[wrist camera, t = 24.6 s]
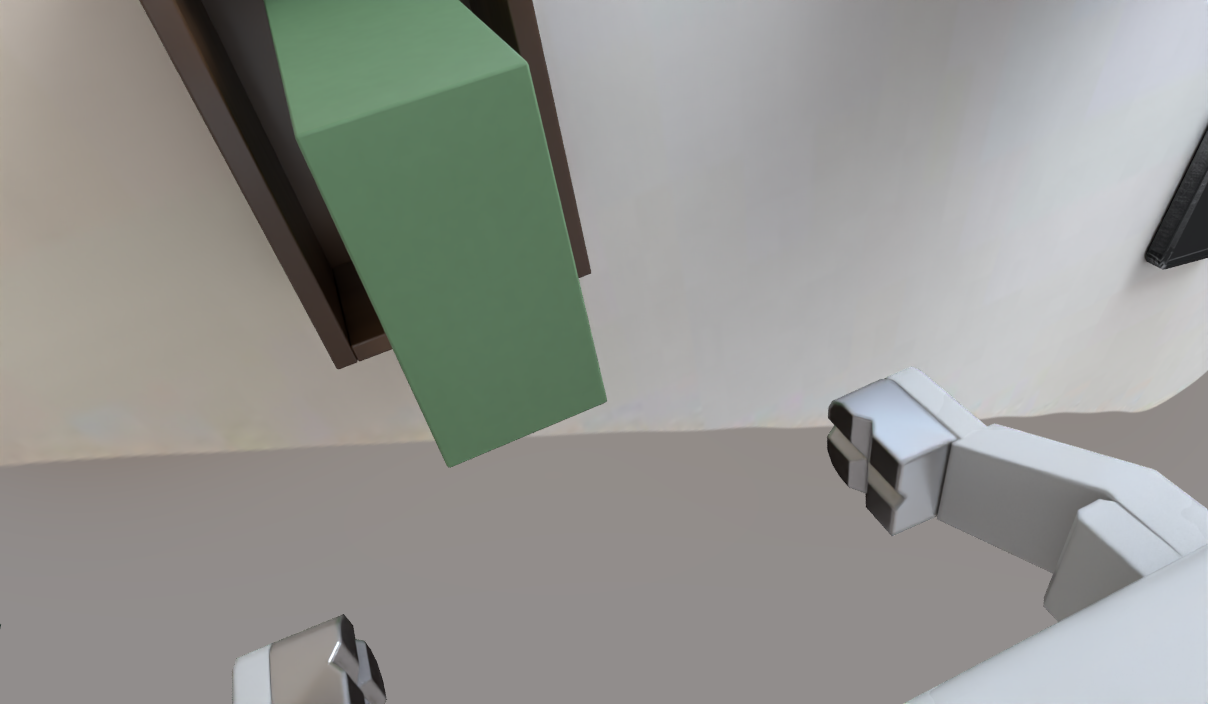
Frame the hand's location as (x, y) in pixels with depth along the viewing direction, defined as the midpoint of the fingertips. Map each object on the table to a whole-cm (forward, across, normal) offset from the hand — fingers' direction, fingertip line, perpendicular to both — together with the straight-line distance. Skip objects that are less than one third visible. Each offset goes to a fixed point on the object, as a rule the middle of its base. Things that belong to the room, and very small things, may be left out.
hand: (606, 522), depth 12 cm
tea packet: (+15, 0, 0) cm, 15 cm away
